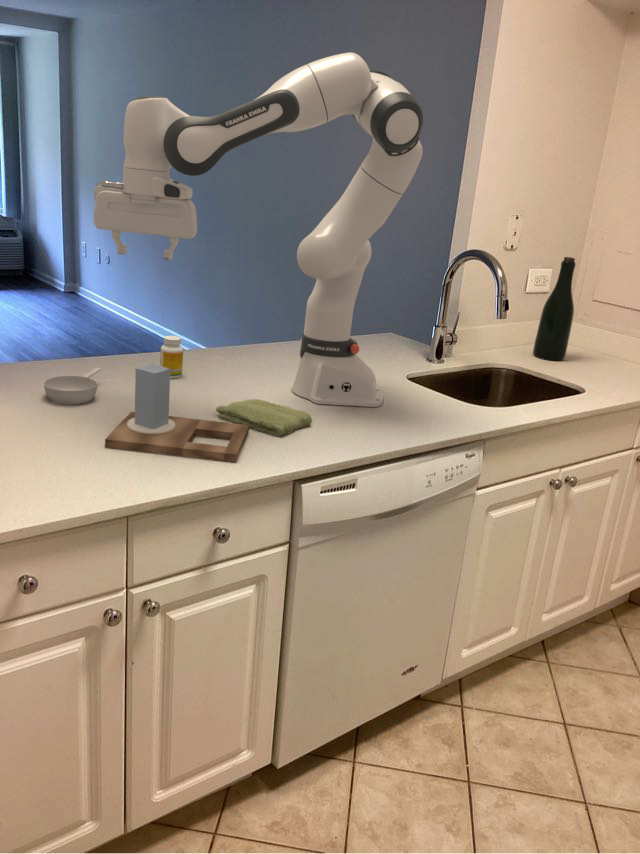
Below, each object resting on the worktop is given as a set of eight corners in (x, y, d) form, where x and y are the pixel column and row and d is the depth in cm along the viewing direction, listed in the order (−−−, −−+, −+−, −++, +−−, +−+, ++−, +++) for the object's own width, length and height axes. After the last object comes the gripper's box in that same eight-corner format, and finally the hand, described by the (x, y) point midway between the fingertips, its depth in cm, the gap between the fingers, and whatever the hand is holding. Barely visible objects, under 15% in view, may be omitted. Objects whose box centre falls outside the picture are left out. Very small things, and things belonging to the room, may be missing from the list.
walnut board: (248, 432, 147) (249, 425, 146) (235, 462, 132) (236, 454, 131) (131, 418, 147) (131, 411, 147) (105, 447, 132) (105, 439, 132)
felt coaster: (179, 421, 144) (179, 418, 144) (168, 437, 136) (168, 434, 136) (135, 416, 144) (135, 413, 144) (120, 431, 136) (120, 428, 136)
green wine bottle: (563, 363, 236) (586, 260, 225) (530, 357, 240) (551, 256, 228) (565, 357, 246) (587, 258, 235) (533, 351, 249) (554, 253, 238)
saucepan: (33, 401, 151) (33, 384, 150) (77, 380, 168) (77, 364, 167) (81, 410, 150) (81, 392, 148) (121, 387, 166) (121, 371, 165)
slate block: (150, 417, 143) (151, 363, 139) (168, 423, 141) (170, 368, 137) (134, 423, 139) (135, 368, 135) (153, 429, 137) (154, 373, 133)
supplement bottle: (155, 373, 179) (157, 335, 175) (175, 371, 182) (176, 334, 179) (166, 379, 175) (167, 340, 172) (186, 377, 178) (187, 339, 175)
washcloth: (250, 405, 165) (251, 392, 164) (314, 426, 156) (316, 412, 155) (211, 418, 154) (212, 404, 153) (277, 441, 145) (279, 426, 144)
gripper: (88, 179, 140) (88, 252, 144) (193, 191, 139) (190, 264, 144) (99, 179, 146) (99, 249, 150) (200, 190, 145) (197, 260, 150)
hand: (144, 256), depth 147 cm, fingers open, 8 cm apart
